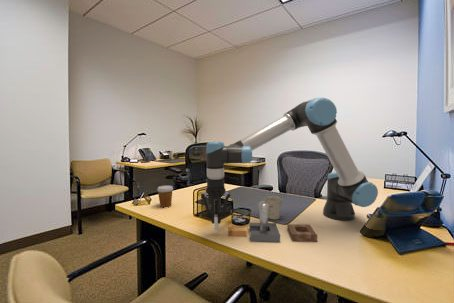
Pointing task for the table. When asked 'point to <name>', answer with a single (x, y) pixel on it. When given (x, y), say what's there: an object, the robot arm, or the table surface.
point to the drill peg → (263, 216)
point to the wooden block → (236, 231)
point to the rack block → (301, 233)
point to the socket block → (264, 233)
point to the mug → (273, 207)
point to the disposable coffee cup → (165, 195)
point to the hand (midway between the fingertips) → (216, 230)
